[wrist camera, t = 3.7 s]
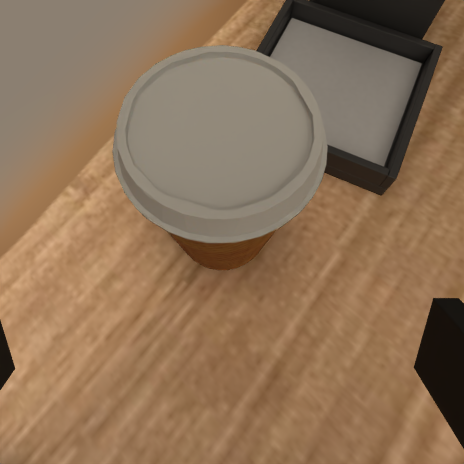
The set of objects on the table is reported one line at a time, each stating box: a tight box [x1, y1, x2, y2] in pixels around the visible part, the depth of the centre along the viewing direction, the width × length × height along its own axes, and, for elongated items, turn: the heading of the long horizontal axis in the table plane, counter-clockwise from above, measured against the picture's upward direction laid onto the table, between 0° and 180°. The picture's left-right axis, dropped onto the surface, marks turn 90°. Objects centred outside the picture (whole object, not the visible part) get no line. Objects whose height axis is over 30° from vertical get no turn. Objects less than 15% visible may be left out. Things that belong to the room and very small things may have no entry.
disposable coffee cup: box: [113, 45, 328, 270], centre depth 21 cm, size 10×10×12 cm
